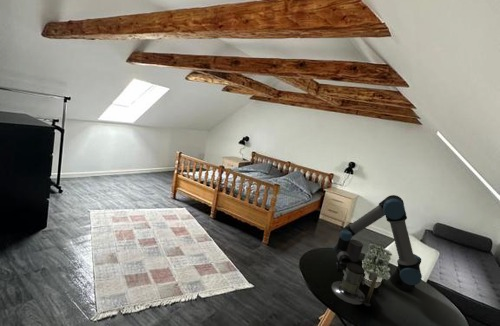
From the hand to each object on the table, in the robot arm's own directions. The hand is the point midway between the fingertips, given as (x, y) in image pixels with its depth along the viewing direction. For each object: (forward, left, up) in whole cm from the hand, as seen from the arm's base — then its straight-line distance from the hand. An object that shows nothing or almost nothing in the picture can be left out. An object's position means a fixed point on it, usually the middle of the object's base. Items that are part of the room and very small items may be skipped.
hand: (355, 280), depth 164 cm
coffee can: (0, -4, -8) cm, 9 cm away
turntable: (0, -4, -11) cm, 12 cm away
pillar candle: (-16, -48, -12) cm, 52 cm away
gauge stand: (-9, +3, -11) cm, 15 cm away
